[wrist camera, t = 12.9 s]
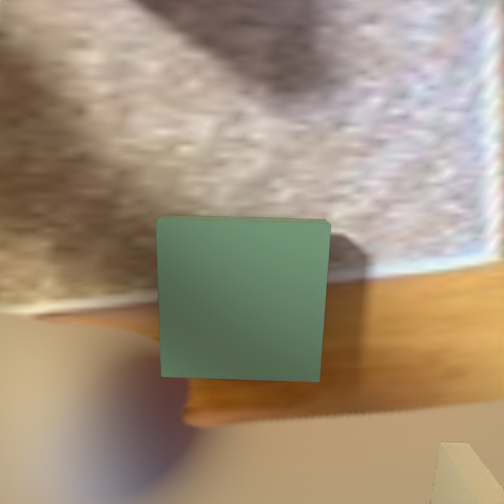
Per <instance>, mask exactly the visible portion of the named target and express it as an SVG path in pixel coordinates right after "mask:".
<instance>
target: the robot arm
mask: <svg viewBox="0 0 504 504" xmlns="http://www.w3.org/2000/svg"><path fill="white" fill-rule="evenodd" d="M430 504H504V489H503V488H502V487H501V486H500V484H499V483H498V482H497V480H496V479H495V478H494V476H493V475H492V474H491V472H490V471H489V470H488V468H487V467H486V466H485V465H484V463H483V462H482V461H481V459H480V458H479V457H478V456H477V454H476V453H475V452H474V450H473V449H472V448H471V446H470V445H469V444H468V443H459V442H441V443H440V449H439V455H438V460H437V466H436V472H435V479H434V484H433V490H432V496H431V502H430Z"/></svg>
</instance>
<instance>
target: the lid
mask: <svg viewBox="0 0 504 504" xmlns="http://www.w3.org/2000/svg"><path fill="white" fill-rule="evenodd" d="M330 234H331V224H330V223H329V222H327V221H326V220H325V219H295V218H258V217H220V216H183V215H164V216H162V217H160V218H158V219H156V246H157V273H158V301H159V329H160V356H161V377H182V378H210V379H238V380H266V381H295V382H320V371H321V357H322V343H323V330H324V316H325V302H326V288H327V275H328V261H329V247H330Z"/></svg>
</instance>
